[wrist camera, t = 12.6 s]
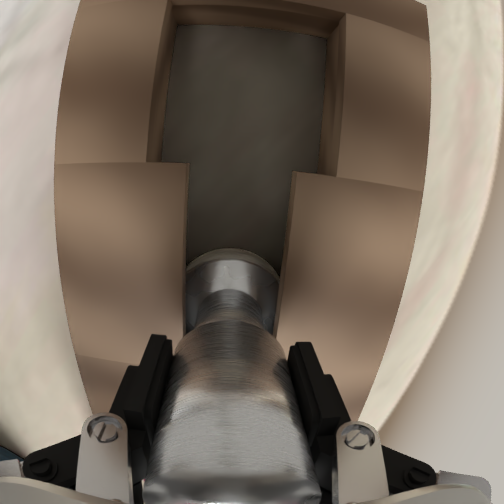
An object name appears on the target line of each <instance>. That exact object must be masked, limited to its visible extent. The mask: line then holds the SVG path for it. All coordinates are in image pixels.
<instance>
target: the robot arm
mask: <svg viewBox="0 0 504 504" xmlns="http://www.w3.org/2000/svg"><path fill="white" fill-rule="evenodd" d="M172 358H173V347H172V340H171V339H167V336H166V335H159V334H151V336H150V339H149V341H148V344H147V346H146V349H145V351H144V354H143V357H142V359H141V362H140V364H139V366H134V365H129V366H128V367H127V369H126V372H125V374H124V376H123V379H122V381H121V384H120V386H119V388H118V391H117V393H116V396H115V398H114V401H113V403H112V406H111V408H110V411H109V413H107V412H104V413H97V414H94V415H92V416H90V417H89V418H87V420H86V421H85V422H84V424H83V427H82V433H81V435H78V436H76V437H73V438H71V439H68V440H66V441H63V442H60V443H58V444H55V445H52V446H49V447H47V448H44V449H41V450H38V451H35V452H33V453H31V454H29V455H28V456H27V457H26V458H25V460H24V461H22V462H19V460H18V459H14V460H6V461H0V504H145V502H144V500H143V497H142V492H143V486H144V479H145V476H146V471H147V466H148V461H149V456H150V451H151V446H152V442H153V437H154V434H155V430H156V425H157V421H158V416H159V412H160V408H161V403H162V399H163V395H164V391H165V386H166V382H167V378H168V374H169V370H170V366H171V362H172ZM287 363H288V367H289V370H290V374H291V378H292V382H293V386H294V389H295V393H296V397H297V401H298V405H299V409H300V412H301V416H302V420H303V424H304V428H305V432H306V436H307V439H308V443H309V447H310V451H311V455H312V459H313V463H314V466H315V470H316V474H317V478H318V482H319V486H320V490H321V494H322V496H321V500H320V502H319V504H492V503H491V486H490V484H489V482H488V481H487V480H486V479H484V478H482V477H477V476H470V475H463V474H457V473H451V472H446V471H441V470H440V471H439V472H438V473H435V471H434V469H432V467H431V466H430V465H428V464H426V463H424V462H422V461H419V460H417V459H414V458H411V457H409V456H407V455H404V454H402V453H399V452H397V451H394V450H392V449H390V448H388V447H385V446H383V445H381V442H380V437H379V434H378V432H377V431H376V430H375V428H374V427H372V426H371V425H369V424H367V423H364V422H360V421H351V419H350V416H349V414H348V411H347V409H346V407H345V404H344V402H343V400H342V397H341V395H340V392H339V390H338V388H337V385H336V383H335V381H334V378H333V377H332V375H331V374H324V372H323V370H322V367H321V365H320V362H319V360H318V357H317V355H316V353H315V350H314V348H313V345H312V343H311V342H296V343H295V345H291V346H290V349H289V354H288V359H287Z"/></svg>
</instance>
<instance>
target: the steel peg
mask: <svg viewBox="0 0 504 504" xmlns="http://www.w3.org/2000/svg"><path fill="white" fill-rule="evenodd" d="M279 283H280V278H279V276H278V274H277V273H276V271H275V270H274V269H273V267H272V266H271V265H270V264H269V263H268V262H267V261H265V260H264V259H263V258H261V257H260V256H258V255H256V254H254V253H252V252H249V251H246V250H242V249H236V248H222V249H216V250H212V251H209V252H207V253H204V254H202V255H200V256H199V257H197V258H196V259H194V260H193V261H192V262H191V263H190V264H189V265H188V266H187V267H186V286H185V309H186V335H185V336H184V337H183V338H182V339H181V340H180V342H179V343H178V345H177V346H176V348H175V351H174V353H173V358H172V362H171V366H170V370H169V374H168V378H167V382H166V386H165V391H164V395H163V399H162V403H161V408H160V412H159V416H158V421H157V425H156V430H155V434H154V437H153V442H152V446H151V451H150V456H149V461H148V466H147V471H146V476H145V481H144V486H143V492H142V497H143V500H144V502H145V504H319V502H320V500H321V496H322V494H321V490H320V486H319V482H318V478H317V474H316V470H315V466H314V463H313V459H312V455H311V451H310V447H309V443H308V439H307V436H306V432H305V428H304V424H303V420H302V416H301V412H300V409H299V405H298V401H297V397H296V393H295V389H294V386H293V382H292V378H291V374H290V370H289V367H288V363H287V359H286V355H285V352H284V350H283V348H282V346H281V345H280V343H279V342H278V341H277V339H276V338H275V337H274V336H272V335H273V328H274V321H275V314H276V306H277V299H278V291H279Z"/></svg>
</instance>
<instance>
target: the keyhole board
mask: <svg viewBox="0 0 504 504" xmlns="http://www.w3.org/2000/svg"><path fill="white" fill-rule="evenodd" d="M192 24H199V25H231V26H245V27H256V28H266V29H274V30H282V31H289V32H295V33H301V34H307V35H312V36H317V37H322V38H327V50H326V70H325V86H324V100H323V114H322V126H321V137H320V148H319V158H318V168H317V174H315V173H307V172H298V171H292V179H291V188H290V198H289V207H288V216H287V225H286V234H285V242H284V251H283V259H282V267H281V275H280V283H279V291H278V299H277V306H276V314H275V321H274V328H273V335H272V336H274V337H275V338H276V339H277V341H278V342H279V343H280V345H281V346H282V348H283V350H284V352H285V355H286V359H288V354H289V349H290V346H291V345H295V343H296V342H311V343H312V345H313V348H314V350H315V353H316V355H317V357H318V360H319V362H320V365H321V367H322V370H323V372H324V374H331V375H332V377H333V378H334V381H335V383H336V385H337V388H338V390H339V392H340V395H341V397H342V400H343V402H344V404H345V407H346V409H347V411H348V414H349V416H350V419H351V421H358V418H359V416H360V414H361V412H362V409H363V407H364V405H365V402H366V400H367V397H368V395H369V392H370V390H371V387H372V385H373V382H374V380H375V377H376V375H377V372H378V369H379V367H380V364H381V361H382V358H383V355H384V352H385V350H386V347H387V344H388V341H389V338H390V334H391V331H392V328H393V325H394V322H395V318H396V315H397V312H398V308H399V305H400V301H401V297H402V294H403V290H404V286H405V282H406V278H407V274H408V270H409V266H410V261H411V257H412V252H413V248H414V243H415V238H416V233H417V227H418V222H419V216H420V210H421V204H422V197H423V190H424V183H425V175H426V166H427V156H428V144H429V130H430V109H431V61H430V41H429V28H428V18H427V9H426V5H424V4H421V3H419V2H417V1H415V0H81V1H80V4H79V7H78V11H77V14H76V18H75V21H74V25H73V29H72V33H71V37H70V42H69V46H68V51H67V56H66V61H65V66H64V72H63V78H62V84H61V91H60V98H59V107H58V116H57V127H56V140H55V162H54V204H55V226H56V240H57V251H58V261H59V269H60V277H61V284H62V291H63V297H64V303H65V309H66V314H67V320H68V325H69V329H70V334H71V339H72V343H73V347H74V351H75V355H76V359H77V363H78V367H79V371H80V374H81V378H82V381H83V385H84V388H85V391H86V394H87V398H88V401H89V404H90V407H91V410H92V413H93V415H94V414H97V413H104V412H107V413H109V411H110V408H111V406H112V403H113V401H114V398H115V396H116V393H117V391H118V388H119V386H120V384H121V381H122V379H123V376H124V374H125V372H126V369H127V367H128V366H129V365H134V366H139V364H140V362H141V359H142V357H143V354H144V351H145V349H146V346H147V344H148V341H149V339H150V336H151V334H159V335H166V336H167V339H171V340H172V347H173V353H174V351H175V348H176V346H177V345H178V343H179V342H180V340H181V339H182V338H183V337H184V336H185V335H186V309H185V286H186V234H187V208H188V189H189V172H190V163H174V162H161V160H162V145H163V132H164V121H165V111H166V101H167V92H168V84H169V76H170V68H171V61H172V54H173V48H174V41H175V35H176V29H177V25H192Z"/></svg>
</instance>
